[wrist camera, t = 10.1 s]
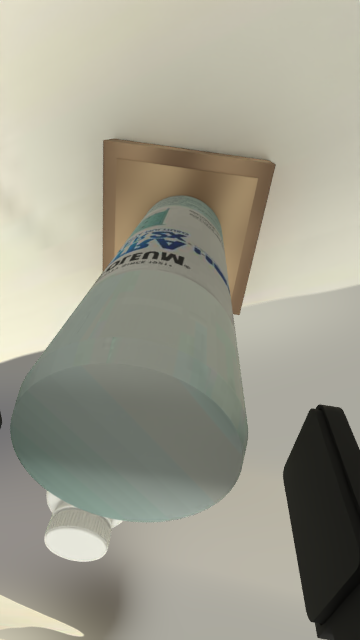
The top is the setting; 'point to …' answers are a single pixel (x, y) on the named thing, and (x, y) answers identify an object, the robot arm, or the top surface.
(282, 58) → the top surface
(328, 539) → the robot arm
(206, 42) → the top surface
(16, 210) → the top surface
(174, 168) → the square brown tray
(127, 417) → the pale blue bottle
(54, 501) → the pill bottle
